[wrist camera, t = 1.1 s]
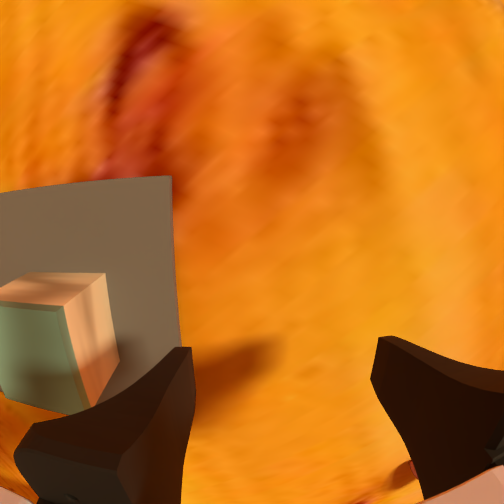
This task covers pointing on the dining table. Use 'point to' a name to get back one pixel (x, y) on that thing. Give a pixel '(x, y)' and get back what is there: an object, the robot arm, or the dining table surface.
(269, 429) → the dining table surface
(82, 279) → the birch block
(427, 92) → the dining table surface
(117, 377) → the rubber mat
